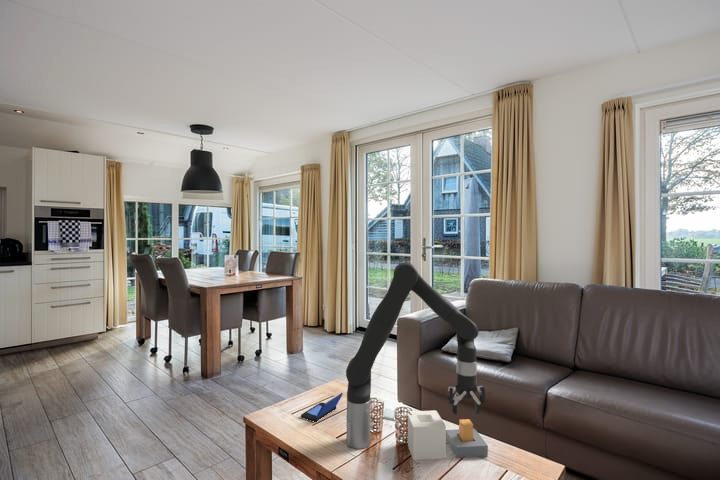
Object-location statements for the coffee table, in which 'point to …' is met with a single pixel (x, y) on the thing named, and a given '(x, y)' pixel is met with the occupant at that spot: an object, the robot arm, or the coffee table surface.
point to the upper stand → (426, 435)
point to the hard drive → (389, 414)
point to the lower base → (466, 445)
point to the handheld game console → (321, 409)
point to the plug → (465, 430)
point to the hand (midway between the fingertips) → (465, 413)
